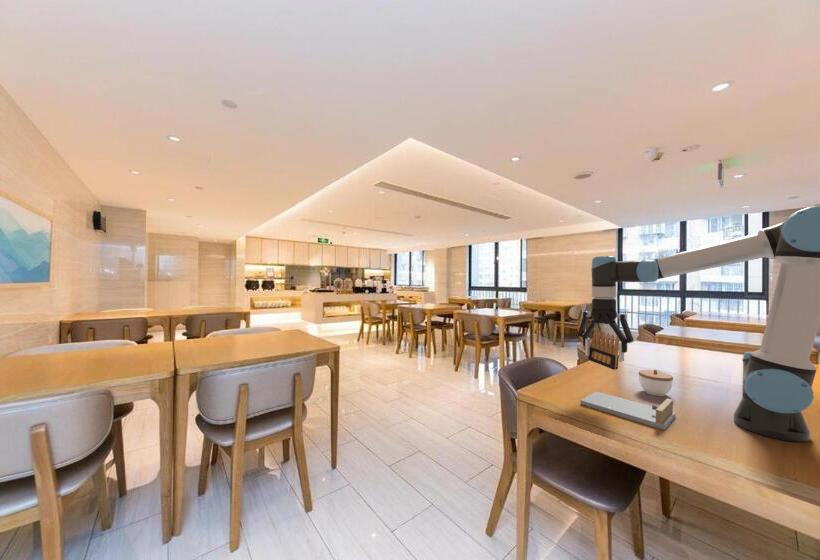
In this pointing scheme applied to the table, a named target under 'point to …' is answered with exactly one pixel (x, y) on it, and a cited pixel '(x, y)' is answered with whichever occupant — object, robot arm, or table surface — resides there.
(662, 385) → the lidded jar
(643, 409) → the wall board
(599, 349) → the ammunition clip
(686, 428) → the table surface
